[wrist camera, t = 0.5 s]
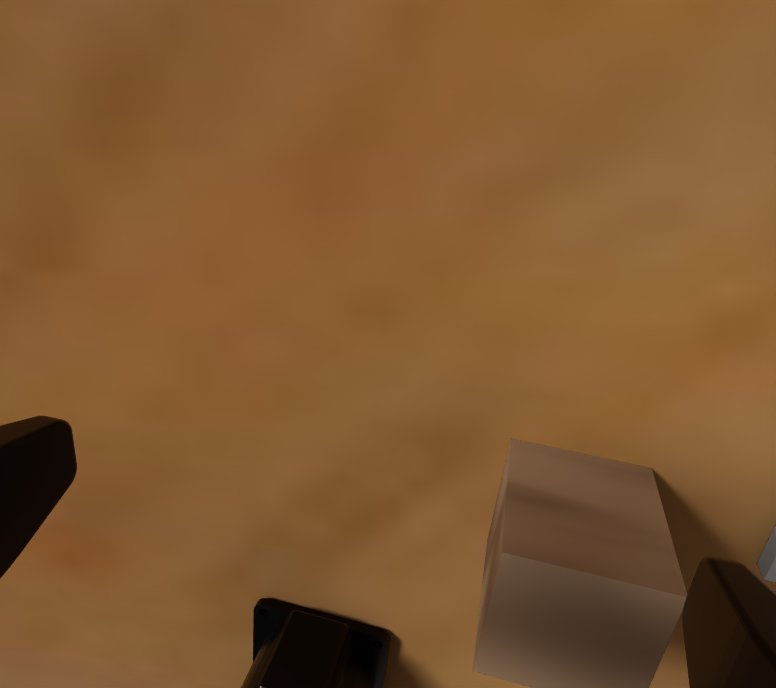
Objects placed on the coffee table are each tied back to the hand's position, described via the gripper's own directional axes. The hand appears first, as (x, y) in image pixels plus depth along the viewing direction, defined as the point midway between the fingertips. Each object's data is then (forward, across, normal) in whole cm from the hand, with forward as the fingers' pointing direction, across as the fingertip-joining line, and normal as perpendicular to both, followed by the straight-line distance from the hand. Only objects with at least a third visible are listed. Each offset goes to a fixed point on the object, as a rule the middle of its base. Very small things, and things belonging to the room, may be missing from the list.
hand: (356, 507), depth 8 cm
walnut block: (+13, -5, +9) cm, 17 cm away
